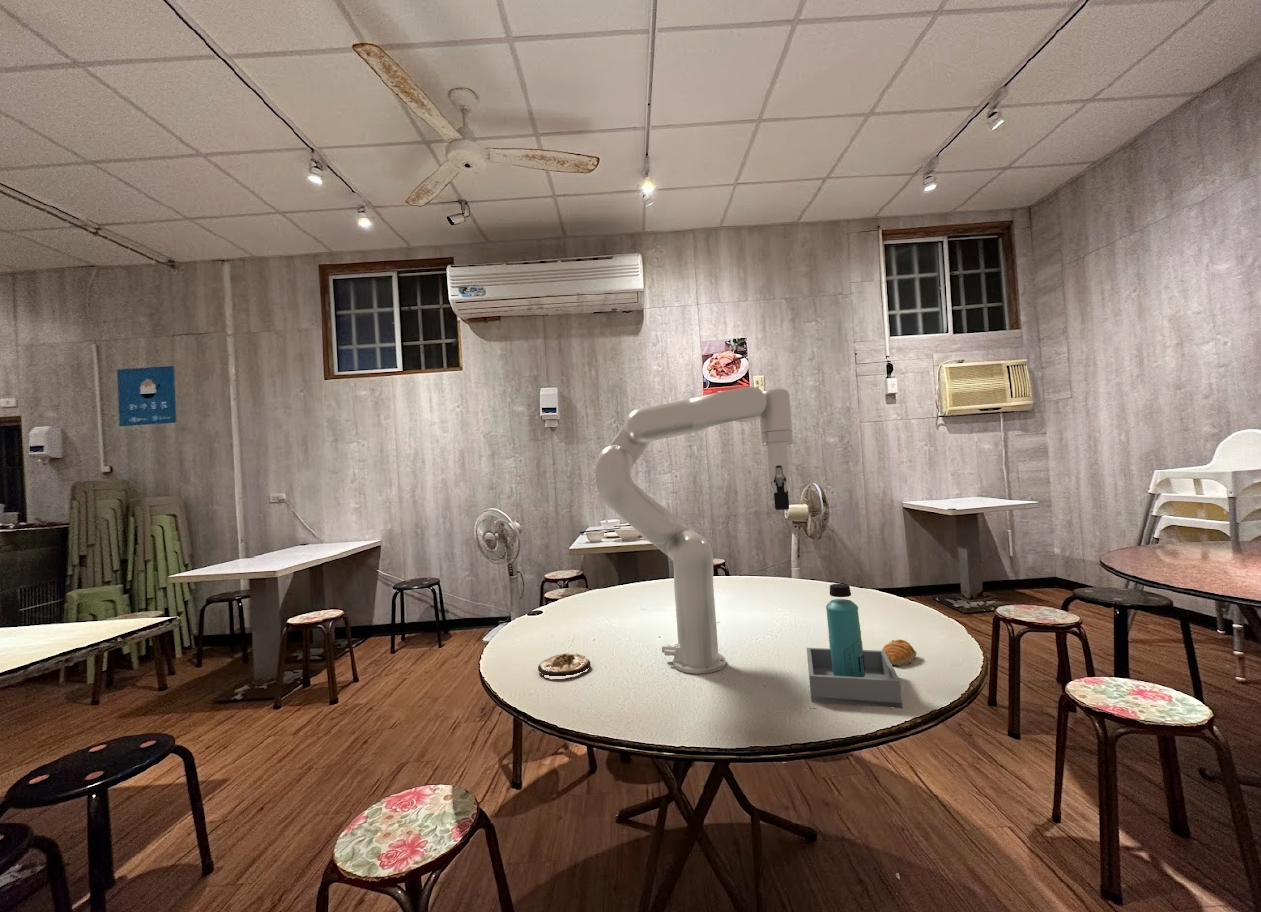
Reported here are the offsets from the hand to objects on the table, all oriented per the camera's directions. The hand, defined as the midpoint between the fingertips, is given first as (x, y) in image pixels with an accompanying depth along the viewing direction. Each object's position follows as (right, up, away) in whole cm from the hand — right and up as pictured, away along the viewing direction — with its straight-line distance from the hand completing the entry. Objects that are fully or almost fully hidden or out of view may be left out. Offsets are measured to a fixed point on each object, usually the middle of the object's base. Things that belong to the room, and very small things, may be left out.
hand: (782, 507), depth 122 cm
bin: (+8, -35, -20) cm, 41 cm away
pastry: (+25, -35, -7) cm, 44 cm away
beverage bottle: (+8, -34, -20) cm, 40 cm away
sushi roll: (-54, -41, -1) cm, 67 cm away
